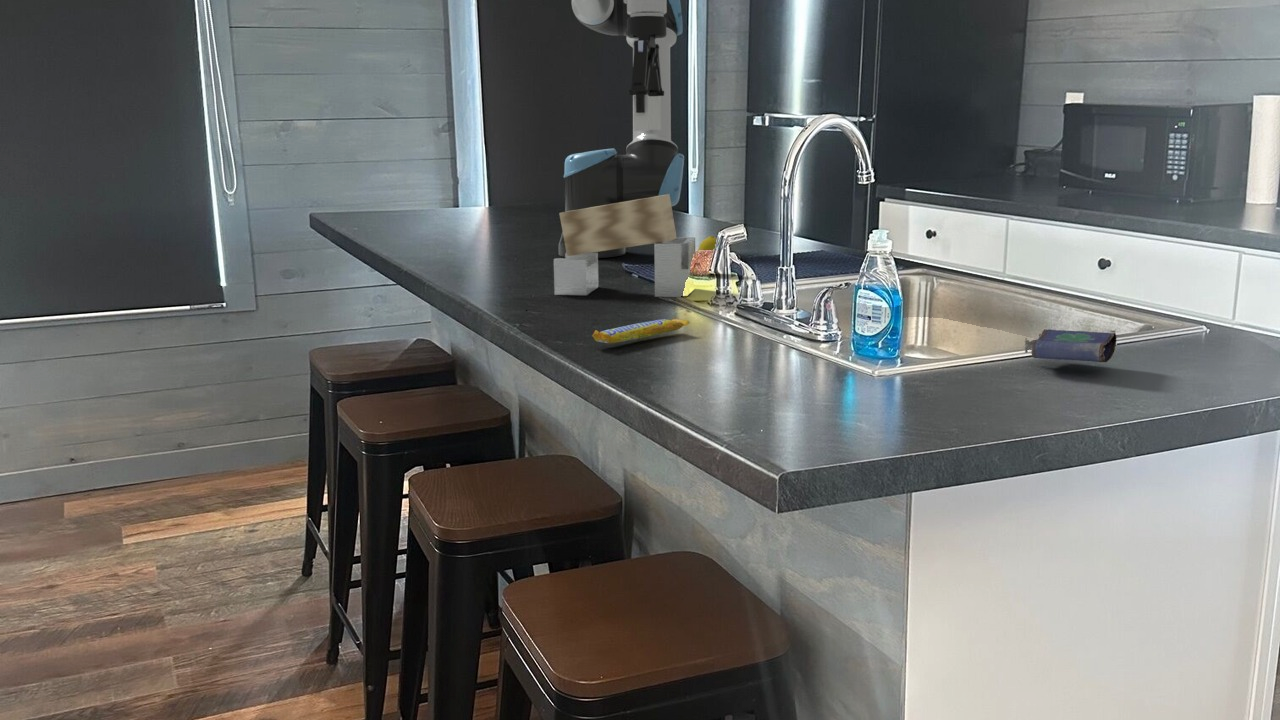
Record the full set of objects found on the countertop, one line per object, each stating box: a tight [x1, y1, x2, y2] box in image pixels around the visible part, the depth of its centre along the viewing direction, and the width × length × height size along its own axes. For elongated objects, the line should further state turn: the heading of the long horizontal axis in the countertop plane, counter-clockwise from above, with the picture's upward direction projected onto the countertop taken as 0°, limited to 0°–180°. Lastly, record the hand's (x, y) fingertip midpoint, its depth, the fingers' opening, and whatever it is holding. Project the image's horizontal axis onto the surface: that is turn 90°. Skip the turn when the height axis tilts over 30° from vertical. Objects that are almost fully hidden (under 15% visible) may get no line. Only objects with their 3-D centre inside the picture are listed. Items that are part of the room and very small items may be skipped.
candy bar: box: [591, 318, 691, 344], centre depth 165 cm, size 17×4×2 cm, turn 131°
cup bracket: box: [653, 236, 696, 298], centre depth 201 cm, size 10×6×10 cm, turn 170°
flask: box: [1024, 328, 1117, 363], centre depth 144 cm, size 9×3×11 cm
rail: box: [558, 194, 677, 256], centre depth 201 cm, size 20×5×8 cm, turn 67°
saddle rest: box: [553, 253, 599, 296], centre depth 204 cm, size 10×6×6 cm, turn 170°
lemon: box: [697, 235, 718, 252], centre depth 221 cm, size 6×6×8 cm
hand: (647, 130), depth 214 cm, fingers open, 13 cm apart
